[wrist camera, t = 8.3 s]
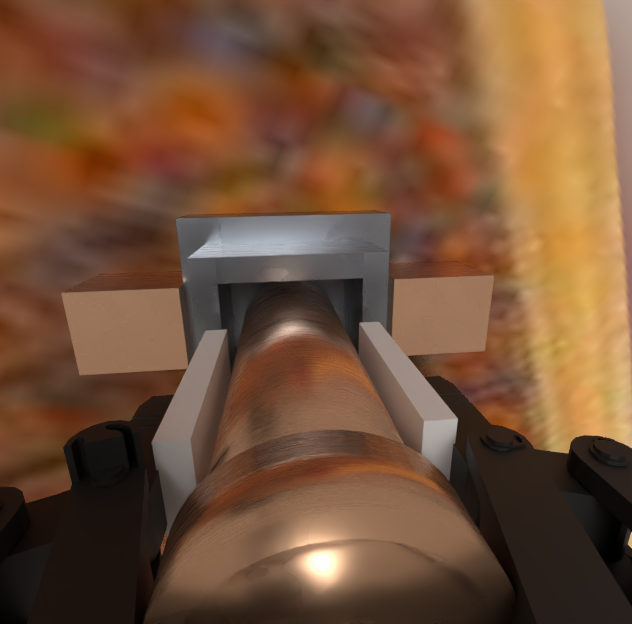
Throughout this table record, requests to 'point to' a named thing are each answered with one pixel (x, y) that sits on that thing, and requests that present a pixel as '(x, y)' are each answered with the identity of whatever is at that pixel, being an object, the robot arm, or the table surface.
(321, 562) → the pipe fitting
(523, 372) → the table surface
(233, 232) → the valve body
